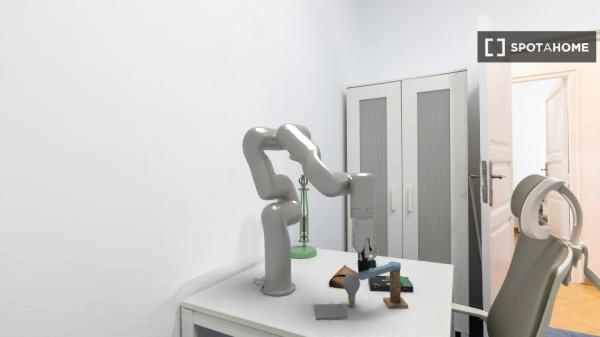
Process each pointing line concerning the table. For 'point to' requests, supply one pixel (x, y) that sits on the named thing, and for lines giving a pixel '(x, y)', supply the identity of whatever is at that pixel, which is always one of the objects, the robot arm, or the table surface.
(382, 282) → the disk drive
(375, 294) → the table surface
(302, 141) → the robot arm
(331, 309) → the mat
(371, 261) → the watch
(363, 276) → the latch arm
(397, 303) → the post
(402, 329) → the table surface
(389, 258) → the table surface
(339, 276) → the sunglasses case
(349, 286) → the light bulb
